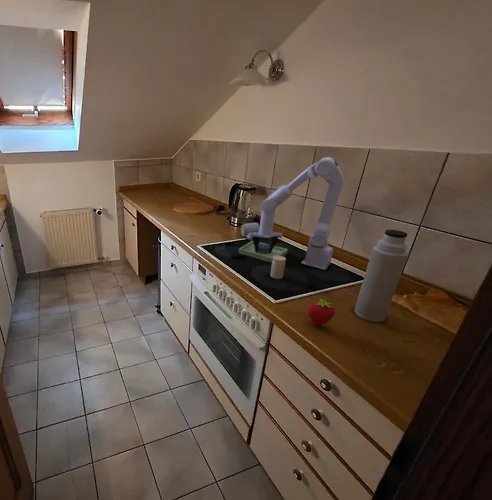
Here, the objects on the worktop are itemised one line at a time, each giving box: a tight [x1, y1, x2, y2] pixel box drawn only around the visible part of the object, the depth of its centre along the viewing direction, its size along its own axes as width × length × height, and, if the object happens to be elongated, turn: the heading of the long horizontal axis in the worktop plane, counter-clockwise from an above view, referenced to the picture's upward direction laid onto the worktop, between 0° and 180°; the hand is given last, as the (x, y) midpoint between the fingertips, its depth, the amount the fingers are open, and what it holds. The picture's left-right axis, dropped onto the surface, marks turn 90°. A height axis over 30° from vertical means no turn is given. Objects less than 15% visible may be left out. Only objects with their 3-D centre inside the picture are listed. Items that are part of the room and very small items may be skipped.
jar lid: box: [258, 243, 270, 252], centre depth 139 cm, size 6×6×2 cm
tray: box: [238, 240, 289, 264], centre depth 140 cm, size 17×14×2 cm
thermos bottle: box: [354, 229, 409, 323], centre depth 89 cm, size 8×8×28 cm
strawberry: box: [306, 297, 336, 327], centre depth 88 cm, size 6×8×10 cm
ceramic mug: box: [240, 222, 260, 242], centre depth 158 cm, size 11×8×8 cm
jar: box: [269, 256, 287, 280], centre depth 118 cm, size 5×5×8 cm
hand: (262, 251), depth 140 cm, fingers closed on jar lid, 6 cm apart
